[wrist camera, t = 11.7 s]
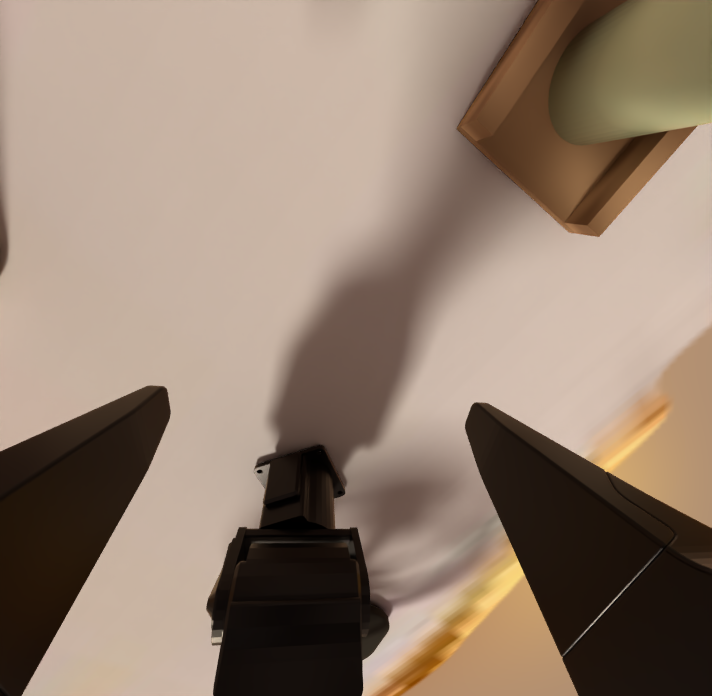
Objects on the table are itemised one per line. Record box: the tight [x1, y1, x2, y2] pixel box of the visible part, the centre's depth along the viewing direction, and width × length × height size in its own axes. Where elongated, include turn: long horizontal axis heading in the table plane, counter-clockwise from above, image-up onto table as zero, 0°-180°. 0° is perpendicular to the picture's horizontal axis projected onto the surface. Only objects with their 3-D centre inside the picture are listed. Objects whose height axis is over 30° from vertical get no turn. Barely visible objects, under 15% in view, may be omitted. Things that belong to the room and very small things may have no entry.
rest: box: [457, 0, 698, 237], centre depth 16 cm, size 12×10×2 cm
